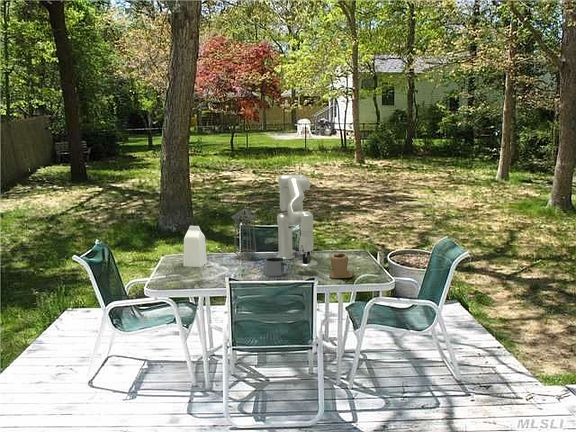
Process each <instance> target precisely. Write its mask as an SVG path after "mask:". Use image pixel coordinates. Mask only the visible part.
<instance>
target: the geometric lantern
mask: <svg viewBox="0 0 576 432" xmlns="http://www.w3.org/2000/svg"><path fill="white" fill-rule="evenodd" d="M244 212H245V214H244ZM258 216H259V215H258V214H257V213H255V212H253V211H251V210H250V209H247V208H243V209H241V210H240V211H238V212H237V213H235V214H233V215H232V216H231V219H232V220H234V225H235V226H234V239H233V240H234V241H233V242H234V243H233V254H235V255H236V256H237V259H238V260H241V257H244V258H243V260H246V261H249V260H251V259H252V258H253V254H255V253H256V252H257V243H256V241H257V240H256V233H255V224H256V220H257V218H258ZM239 219H240V220H241V221H240V220H239ZM247 221H250V224H249V225H246V222H247ZM240 224H242V225H240ZM238 225H239V226H238ZM244 227H245V230H246V231H248V234H249V235H248V236H249V237H251V230H252V233H253V235H252V237H253V242H254V248H253V250H252V243H251V242H252V241H251V238H249V239H248V237H246V249H245V248H244ZM237 229H238V230H241V231H242V233H241V234H242V235H241V234H239V236H238V237H239V238H238V239H239V241H238V249H237ZM241 238H242V239H241ZM248 240H249V243H248ZM241 241H242V242H241ZM241 243H242V244H241ZM248 244H249V245H248ZM240 245H241V246H240ZM240 247H241V248H240ZM249 247H250V248H249ZM243 251H247V252H246V253H245V252H243ZM249 251H250V252H249ZM245 257H246V258H245Z"/></svg>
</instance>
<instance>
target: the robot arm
mask: <svg viewBox="0 0 576 432" xmlns="http://www.w3.org/2000/svg"><path fill="white" fill-rule="evenodd" d="M277 178H278V179H277V186H278V188H279V209H280V211H282V212H280V213H278V214H277V215H276V221H277V229H278V234H277V235H278V254H277V255H276V257H277V258H283V259H285V260H291V259H294V258H295V255H294V254H295V253H296V250H295V249H293V231H292V230H291V229H290V227H299V226H300V236H299V243H298V251H299V254H300V255H301V257H302V260H303V263H307V254H309V255H310V262H311V260H312V258H311V257H312V253H313V251H314V215H313V213H311V211H309V210H303V208H304V206H303V201H304V200H305V193H304V191H306V190H309V189H310V187H311V182H310V180H309V177H307V176H306V175H304V174H295V173H294V174H282V175H279V176H278V177H277Z"/></svg>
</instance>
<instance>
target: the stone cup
mask: <svg viewBox="0 0 576 432" xmlns="http://www.w3.org/2000/svg"><path fill="white" fill-rule="evenodd" d="M348 265H349V256H348V254H347V253H345V252H339V253H333V254H332V255H330V266H331V268H332V271H331V272H330V273H328V274H329V275H328V276H329V277H330V278H332V279H349V278H350V279H351V277H352V278H353V277H354V270H348Z"/></svg>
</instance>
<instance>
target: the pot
mask: <svg viewBox="0 0 576 432" xmlns="http://www.w3.org/2000/svg"><path fill="white" fill-rule="evenodd" d="M285 261H286V259H283V258H277V257H273V256H272V257H267V258H264V259H263V260H262V263H264V275H265V276H268V277H281V276H284V275H285V270H286V268H285V267H286V266H287V265H288V264H287V262H286V263H285Z"/></svg>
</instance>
